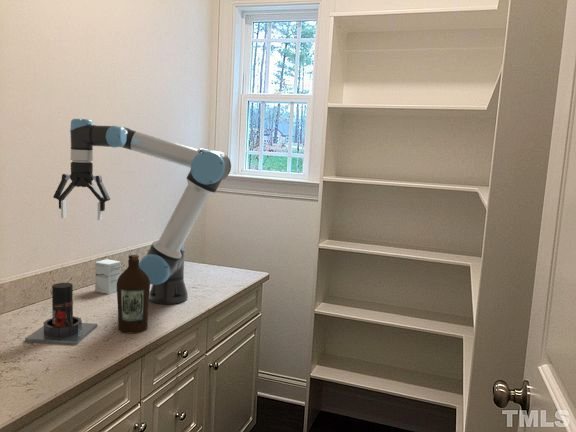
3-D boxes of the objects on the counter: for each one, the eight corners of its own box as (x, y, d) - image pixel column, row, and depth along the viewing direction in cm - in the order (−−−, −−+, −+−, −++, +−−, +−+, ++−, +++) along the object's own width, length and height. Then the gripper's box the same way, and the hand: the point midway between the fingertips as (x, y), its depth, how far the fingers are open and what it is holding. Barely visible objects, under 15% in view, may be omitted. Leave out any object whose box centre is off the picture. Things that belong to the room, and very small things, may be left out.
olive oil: (118, 323, 175) (118, 252, 171) (150, 322, 177) (151, 252, 174) (114, 334, 164) (115, 259, 161) (148, 333, 167) (149, 259, 164)
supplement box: (94, 291, 210) (94, 262, 208) (106, 287, 216) (107, 258, 215) (108, 294, 207) (108, 264, 205) (120, 290, 214) (121, 260, 212)
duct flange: (97, 326, 171) (97, 315, 170) (76, 344, 155) (76, 332, 154) (50, 323, 171) (50, 312, 171) (24, 341, 155) (24, 329, 155)
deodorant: (76, 329, 165) (76, 284, 163) (63, 335, 159) (63, 288, 157) (62, 326, 167) (61, 281, 165) (48, 332, 161) (47, 286, 159)
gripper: (119, 163, 190) (118, 219, 193) (53, 159, 191) (53, 215, 194) (111, 163, 183) (111, 221, 186) (43, 160, 183) (43, 218, 186)
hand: (81, 218), depth 190 cm, fingers open, 13 cm apart
